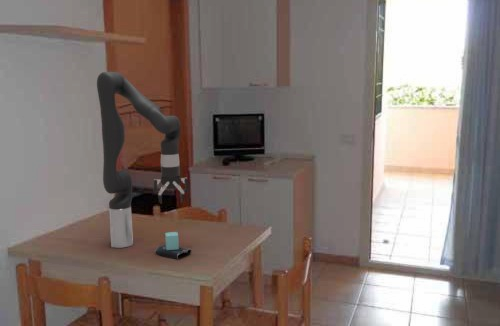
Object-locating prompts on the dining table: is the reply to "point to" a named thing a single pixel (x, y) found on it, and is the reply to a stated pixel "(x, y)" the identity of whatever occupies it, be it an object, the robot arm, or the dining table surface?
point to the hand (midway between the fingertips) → (171, 202)
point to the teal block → (171, 240)
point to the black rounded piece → (171, 252)
